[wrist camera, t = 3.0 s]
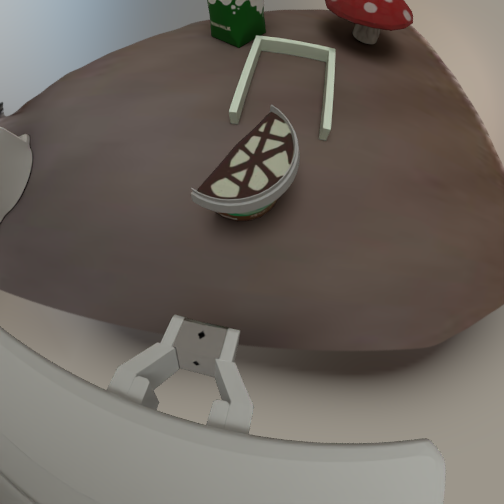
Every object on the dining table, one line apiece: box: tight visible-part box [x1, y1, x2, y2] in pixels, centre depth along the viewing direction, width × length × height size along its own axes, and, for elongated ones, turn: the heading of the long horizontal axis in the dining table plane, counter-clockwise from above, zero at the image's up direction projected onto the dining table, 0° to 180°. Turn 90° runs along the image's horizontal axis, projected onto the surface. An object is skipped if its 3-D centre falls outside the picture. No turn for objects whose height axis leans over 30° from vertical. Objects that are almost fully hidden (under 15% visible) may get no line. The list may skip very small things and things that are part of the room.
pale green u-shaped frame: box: [229, 35, 335, 141], centre depth 33 cm, size 13×18×3 cm
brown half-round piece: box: [191, 105, 300, 221], centre depth 27 cm, size 12×6×10 cm, turn 142°
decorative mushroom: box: [325, 0, 413, 44], centre depth 29 cm, size 16×16×15 cm
